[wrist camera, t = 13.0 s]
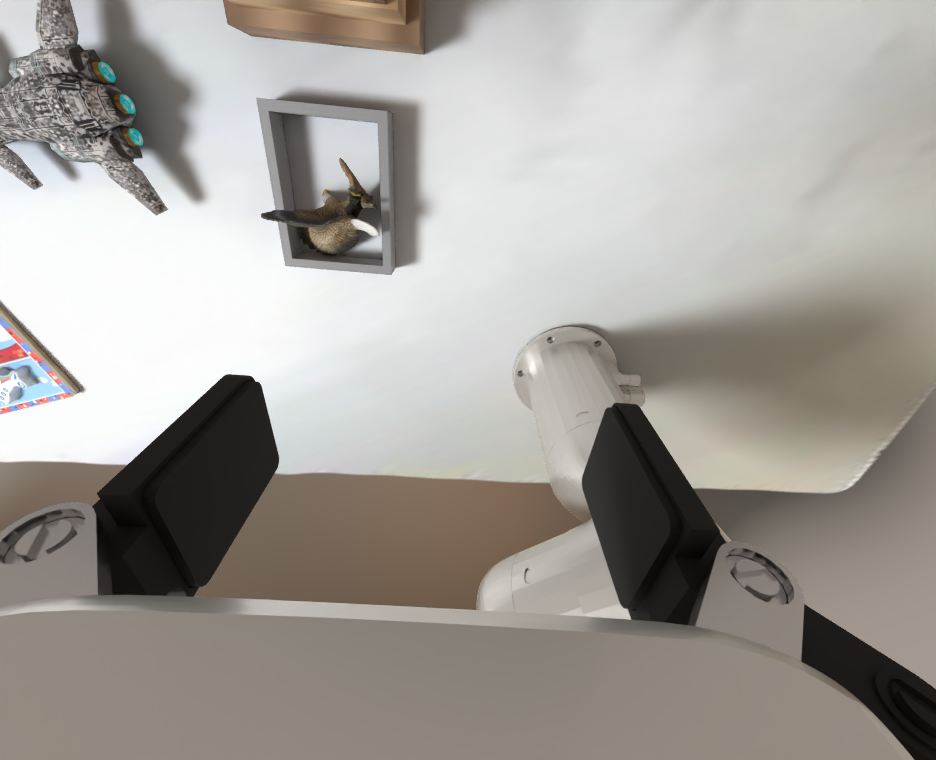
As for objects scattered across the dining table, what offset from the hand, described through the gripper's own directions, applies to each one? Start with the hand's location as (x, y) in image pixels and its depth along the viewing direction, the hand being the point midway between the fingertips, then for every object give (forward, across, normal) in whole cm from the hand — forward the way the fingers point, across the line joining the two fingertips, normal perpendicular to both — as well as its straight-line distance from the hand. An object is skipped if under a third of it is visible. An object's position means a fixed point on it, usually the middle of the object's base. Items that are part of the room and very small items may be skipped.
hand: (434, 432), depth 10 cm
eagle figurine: (+33, +12, 0) cm, 35 cm away
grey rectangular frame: (+32, +12, -2) cm, 35 cm away
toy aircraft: (+33, +37, -6) cm, 50 cm away
